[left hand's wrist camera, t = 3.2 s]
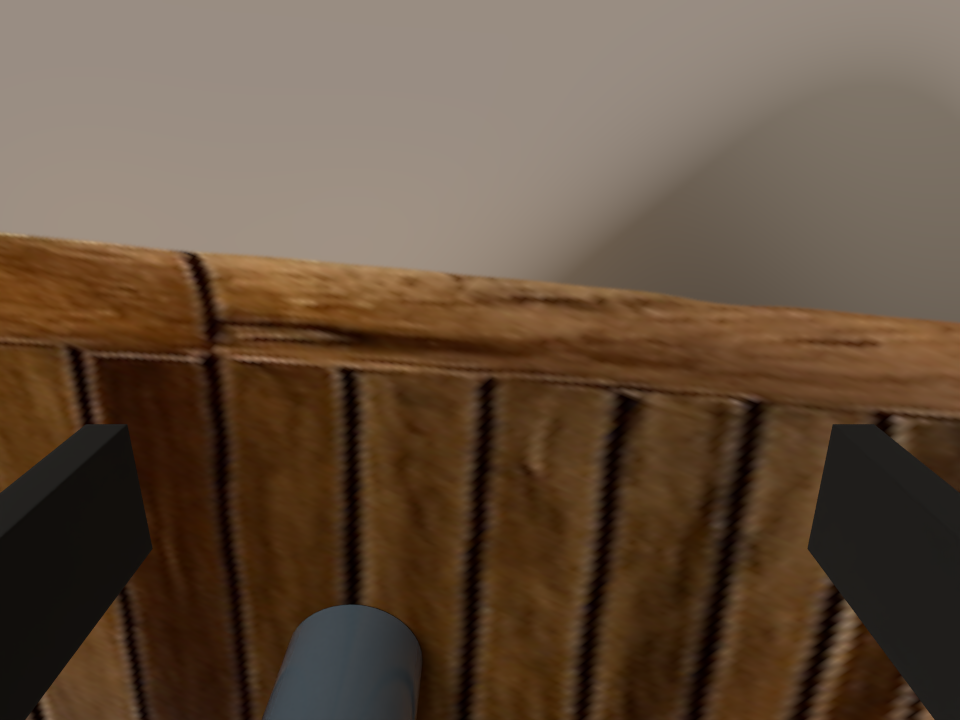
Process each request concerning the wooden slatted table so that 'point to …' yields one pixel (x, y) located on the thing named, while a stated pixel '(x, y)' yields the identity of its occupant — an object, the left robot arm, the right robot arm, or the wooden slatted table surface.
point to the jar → (348, 668)
